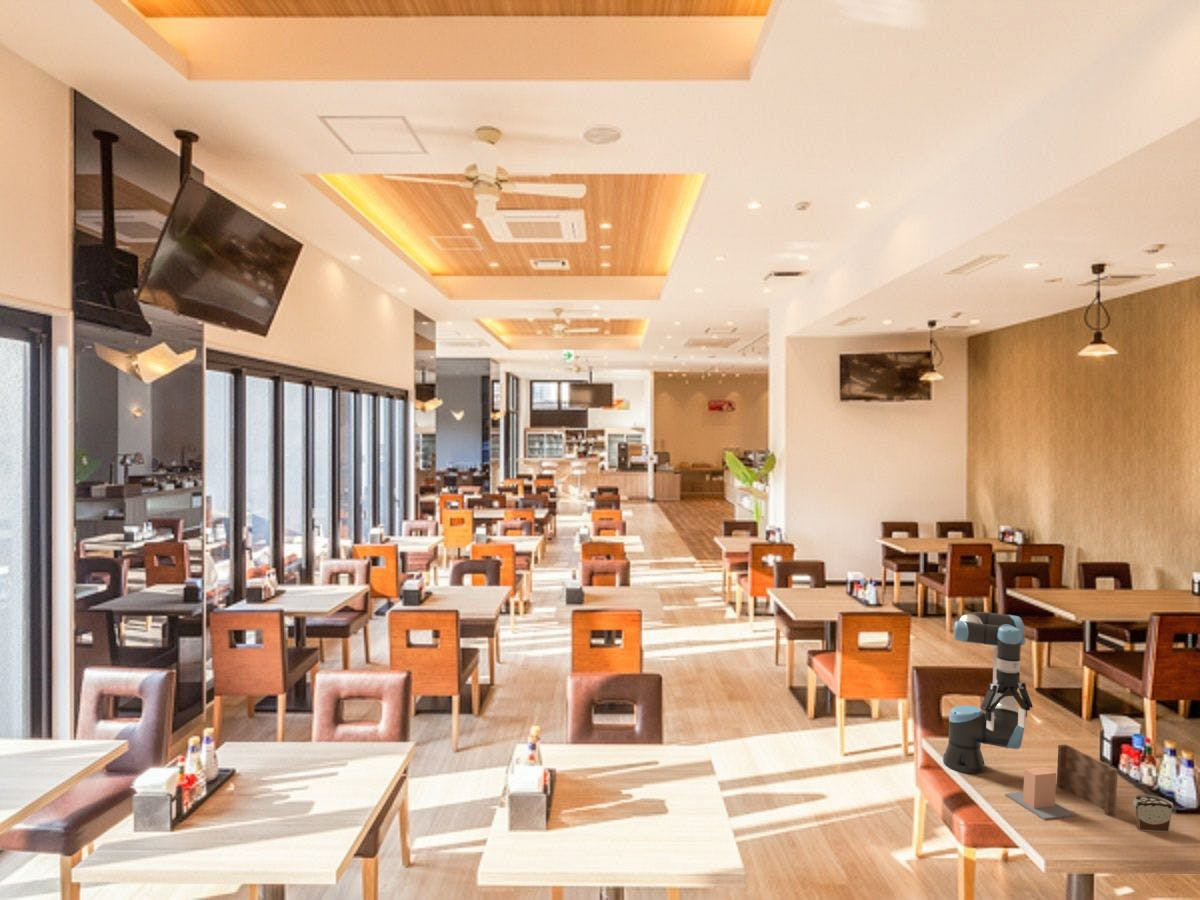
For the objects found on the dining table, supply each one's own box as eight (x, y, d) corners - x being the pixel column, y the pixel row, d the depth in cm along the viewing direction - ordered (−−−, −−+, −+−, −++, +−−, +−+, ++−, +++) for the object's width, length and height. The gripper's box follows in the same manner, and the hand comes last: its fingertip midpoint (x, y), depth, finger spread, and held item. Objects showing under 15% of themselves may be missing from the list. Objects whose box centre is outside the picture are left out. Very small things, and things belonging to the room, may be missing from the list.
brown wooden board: (1056, 786, 292) (1058, 745, 291) (1064, 785, 293) (1066, 744, 292) (1107, 815, 271) (1109, 770, 270) (1115, 814, 271) (1117, 769, 271)
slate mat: (1005, 795, 284) (1005, 793, 284) (1034, 792, 287) (1034, 790, 287) (1043, 819, 267) (1043, 818, 267) (1074, 816, 270) (1074, 814, 270)
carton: (1023, 801, 278) (1024, 768, 278) (1043, 799, 280) (1045, 766, 280) (1033, 808, 273) (1035, 775, 273) (1054, 805, 275) (1056, 772, 275)
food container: (1161, 823, 266) (1163, 794, 266) (1173, 832, 260) (1174, 803, 260) (1124, 820, 267) (1125, 792, 267) (1134, 829, 261) (1135, 800, 261)
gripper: (986, 675, 272) (984, 734, 273) (1045, 671, 278) (1042, 729, 279) (971, 668, 279) (969, 726, 280) (1028, 665, 285) (1026, 721, 286)
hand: (1005, 728), depth 279 cm, fingers open, 13 cm apart
